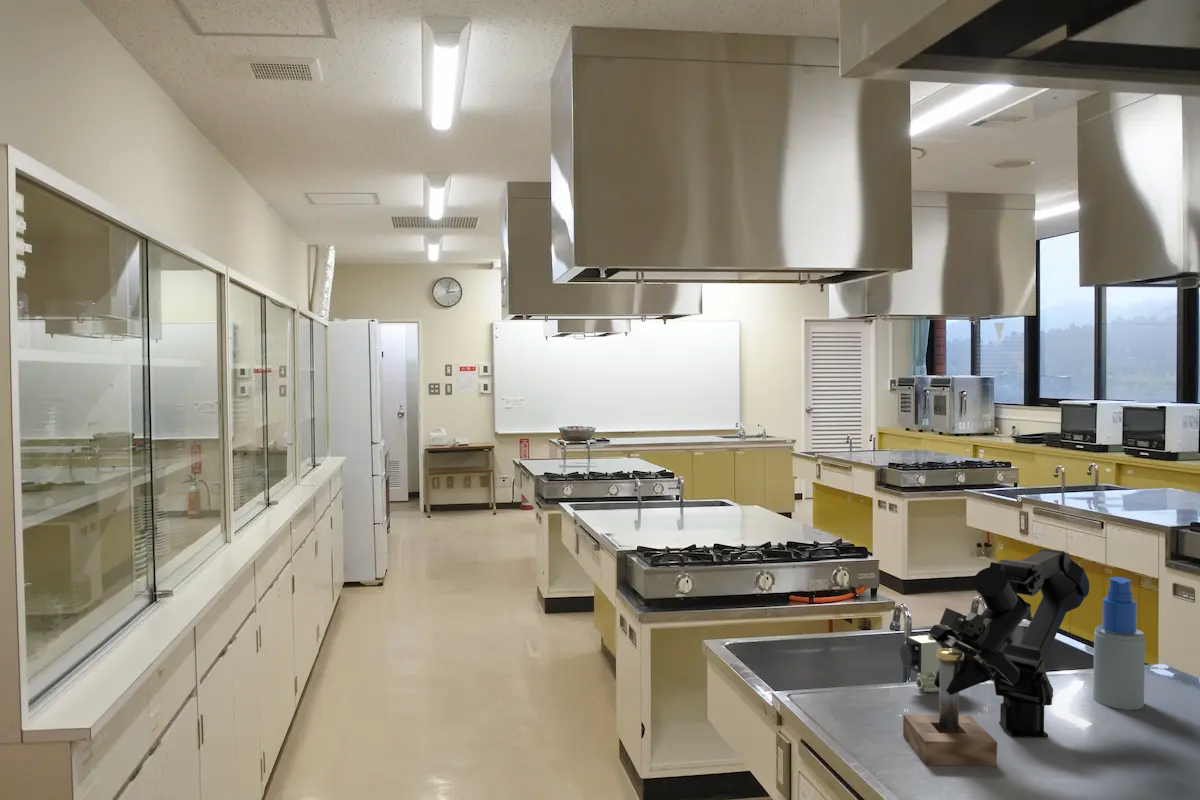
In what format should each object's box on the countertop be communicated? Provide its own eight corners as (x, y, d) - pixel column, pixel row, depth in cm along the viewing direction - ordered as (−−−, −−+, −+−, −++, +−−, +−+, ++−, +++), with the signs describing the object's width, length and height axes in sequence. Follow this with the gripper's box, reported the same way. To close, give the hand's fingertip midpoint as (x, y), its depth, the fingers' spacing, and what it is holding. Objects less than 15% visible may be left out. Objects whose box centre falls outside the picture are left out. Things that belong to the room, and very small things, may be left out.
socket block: (969, 737, 164) (969, 715, 164) (996, 765, 152) (996, 742, 152) (903, 736, 165) (903, 714, 165) (925, 764, 153) (925, 741, 153)
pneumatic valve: (961, 691, 188) (961, 634, 188) (912, 696, 185) (912, 638, 185) (944, 682, 193) (945, 627, 193) (896, 687, 190) (897, 631, 190)
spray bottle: (1094, 690, 188) (1096, 572, 188) (1144, 699, 184) (1146, 577, 183) (1091, 703, 181) (1093, 580, 180) (1143, 713, 176) (1145, 586, 175)
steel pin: (956, 721, 160) (956, 648, 160) (965, 730, 156) (965, 655, 156) (932, 721, 161) (933, 648, 160) (941, 730, 156) (941, 655, 156)
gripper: (937, 580, 168) (884, 644, 165) (1005, 606, 149) (945, 677, 147) (974, 619, 170) (922, 682, 168) (1045, 649, 152) (987, 720, 149)
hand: (942, 689), depth 158 cm, fingers closed on steel pin, 3 cm apart
